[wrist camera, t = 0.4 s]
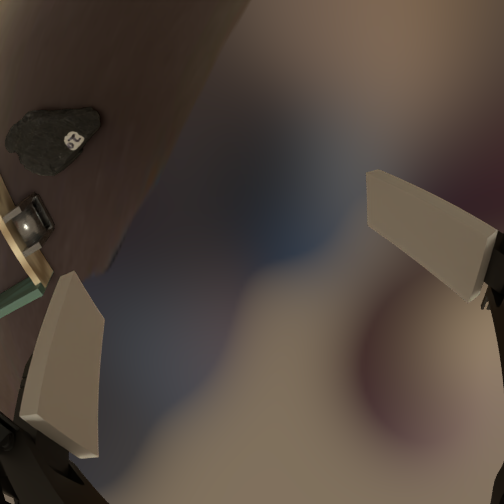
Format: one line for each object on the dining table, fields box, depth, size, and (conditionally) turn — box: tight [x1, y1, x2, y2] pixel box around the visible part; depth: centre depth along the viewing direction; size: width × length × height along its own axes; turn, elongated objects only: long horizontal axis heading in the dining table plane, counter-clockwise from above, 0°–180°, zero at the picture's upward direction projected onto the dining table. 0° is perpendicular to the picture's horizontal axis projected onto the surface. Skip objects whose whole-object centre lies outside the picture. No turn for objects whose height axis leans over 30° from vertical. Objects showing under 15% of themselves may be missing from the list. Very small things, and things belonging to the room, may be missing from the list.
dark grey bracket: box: [3, 192, 55, 258], centre depth 29 cm, size 6×4×6 cm, turn 17°
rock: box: [5, 107, 100, 176], centre depth 25 cm, size 9×10×6 cm
